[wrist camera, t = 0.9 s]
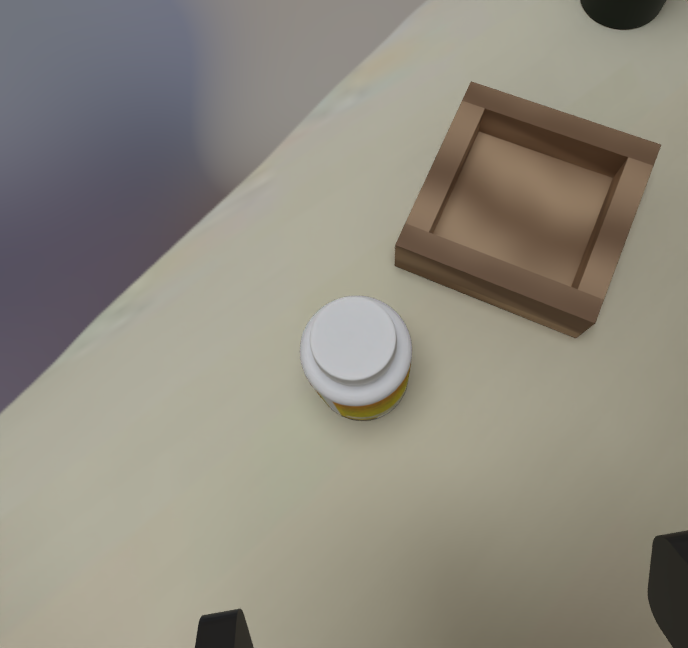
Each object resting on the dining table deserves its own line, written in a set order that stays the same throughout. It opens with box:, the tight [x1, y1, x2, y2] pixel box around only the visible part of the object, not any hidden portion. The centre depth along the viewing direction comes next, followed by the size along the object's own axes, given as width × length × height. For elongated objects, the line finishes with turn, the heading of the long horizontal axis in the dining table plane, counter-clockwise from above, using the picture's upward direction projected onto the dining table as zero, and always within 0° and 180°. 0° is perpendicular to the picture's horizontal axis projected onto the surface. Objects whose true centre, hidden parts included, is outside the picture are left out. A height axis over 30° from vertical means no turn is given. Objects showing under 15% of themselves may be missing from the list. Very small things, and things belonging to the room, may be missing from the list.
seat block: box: [395, 82, 661, 338], centre depth 37 cm, size 12×12×4 cm
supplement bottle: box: [300, 296, 412, 421], centre depth 31 cm, size 6×6×10 cm
